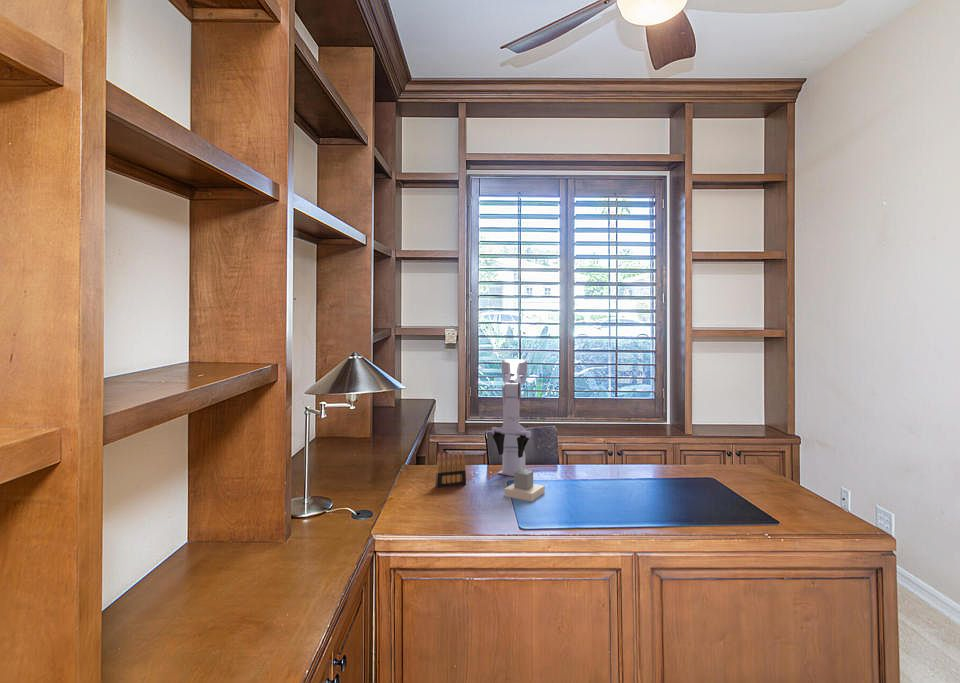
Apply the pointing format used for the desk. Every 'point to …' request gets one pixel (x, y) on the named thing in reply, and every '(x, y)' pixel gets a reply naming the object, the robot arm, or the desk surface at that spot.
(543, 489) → the cream block
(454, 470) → the ammunition clip
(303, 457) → the desk surface
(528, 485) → the grey cube
